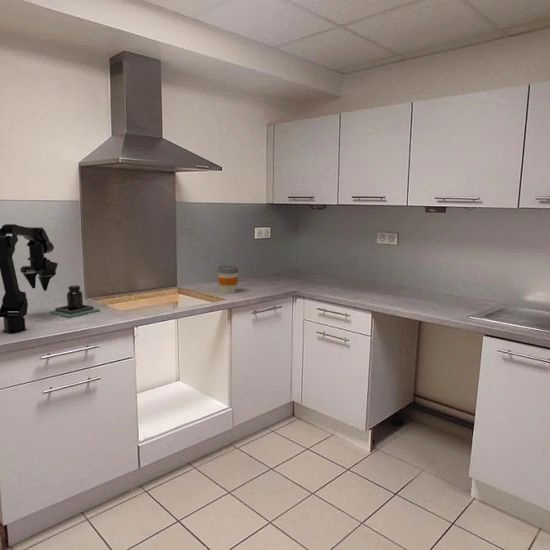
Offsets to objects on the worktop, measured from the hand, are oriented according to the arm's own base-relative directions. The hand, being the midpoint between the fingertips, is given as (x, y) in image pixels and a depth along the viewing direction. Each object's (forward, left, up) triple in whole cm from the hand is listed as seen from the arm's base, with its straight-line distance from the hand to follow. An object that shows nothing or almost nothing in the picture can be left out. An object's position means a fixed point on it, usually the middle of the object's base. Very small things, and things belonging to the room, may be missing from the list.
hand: (39, 289), depth 195 cm
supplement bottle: (+14, -5, -12) cm, 19 cm away
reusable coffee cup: (+96, -33, -13) cm, 102 cm away
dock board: (+14, -4, -13) cm, 20 cm away
